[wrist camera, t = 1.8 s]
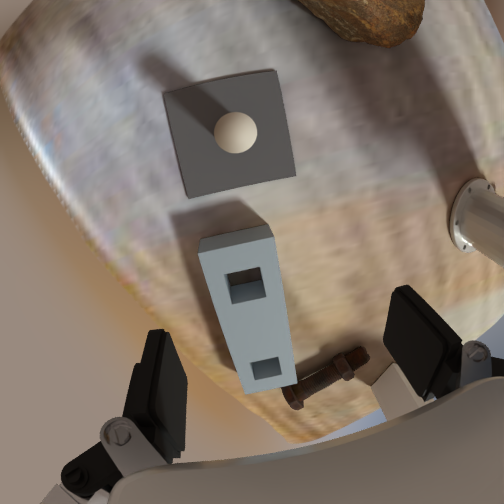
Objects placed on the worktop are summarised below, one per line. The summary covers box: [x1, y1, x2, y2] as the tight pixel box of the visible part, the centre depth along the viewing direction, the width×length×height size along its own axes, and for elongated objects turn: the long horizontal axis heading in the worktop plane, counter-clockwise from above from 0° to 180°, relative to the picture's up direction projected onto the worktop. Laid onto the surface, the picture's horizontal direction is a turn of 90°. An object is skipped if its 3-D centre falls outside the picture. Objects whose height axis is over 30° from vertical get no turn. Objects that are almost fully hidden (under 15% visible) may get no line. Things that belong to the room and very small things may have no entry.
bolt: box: [281, 346, 370, 410], centre depth 42 cm, size 6×5×15 cm
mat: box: [164, 71, 296, 199], centre depth 28 cm, size 12×12×1 cm
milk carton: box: [371, 363, 434, 421], centre depth 40 cm, size 7×7×19 cm
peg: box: [214, 112, 257, 153], centre depth 23 cm, size 3×3×10 cm
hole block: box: [198, 224, 297, 394], centre depth 36 cm, size 24×8×4 cm, turn 11°
